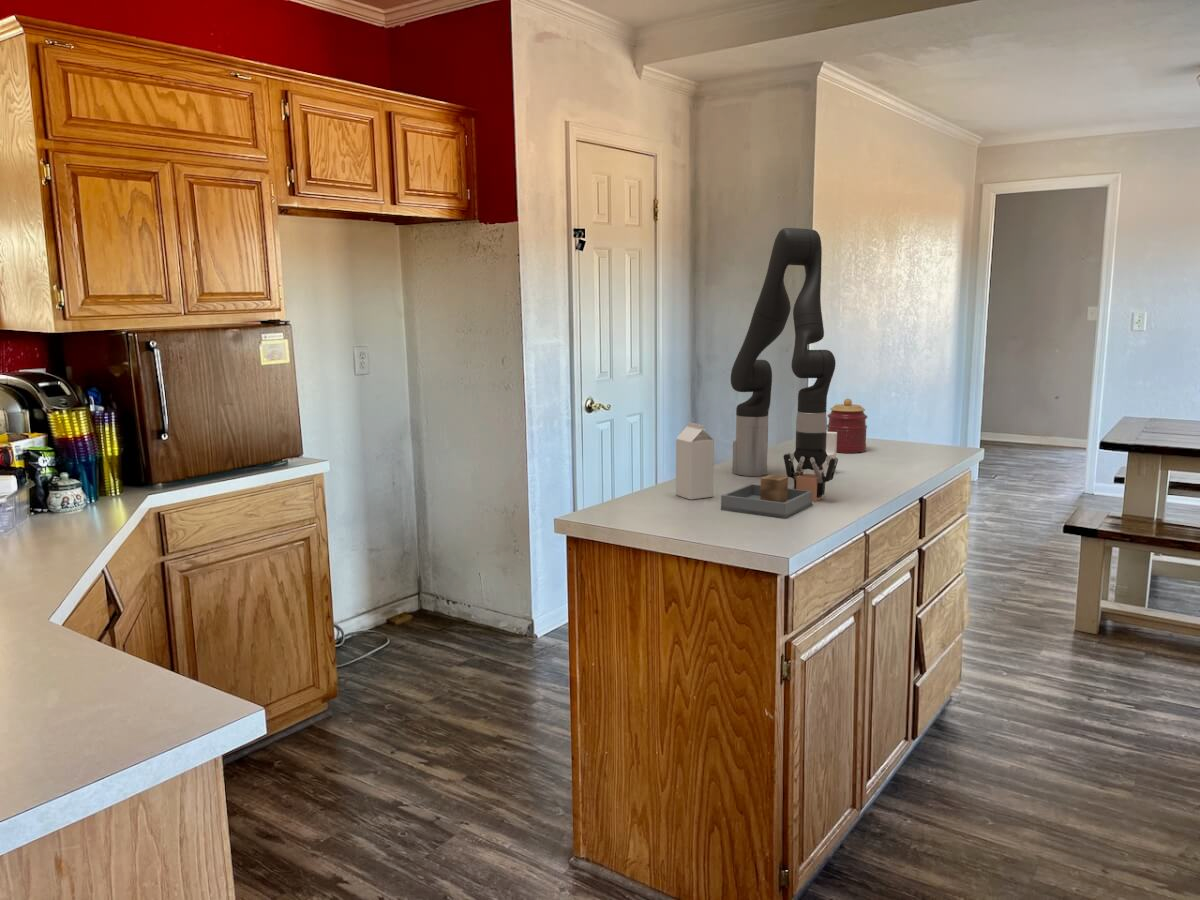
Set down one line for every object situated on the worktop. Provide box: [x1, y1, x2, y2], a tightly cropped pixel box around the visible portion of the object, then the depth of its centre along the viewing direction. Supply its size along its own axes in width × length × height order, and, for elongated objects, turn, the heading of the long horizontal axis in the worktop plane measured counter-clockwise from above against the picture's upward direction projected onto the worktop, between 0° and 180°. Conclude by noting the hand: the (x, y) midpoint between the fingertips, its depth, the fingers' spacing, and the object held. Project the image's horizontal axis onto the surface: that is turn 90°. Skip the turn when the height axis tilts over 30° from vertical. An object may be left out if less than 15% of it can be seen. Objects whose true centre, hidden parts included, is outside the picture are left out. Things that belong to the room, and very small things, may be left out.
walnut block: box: [760, 474, 789, 503], centre depth 218 cm, size 5×5×6 cm
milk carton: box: [675, 421, 715, 500], centre depth 227 cm, size 7×7×19 cm
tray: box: [720, 483, 813, 519], centre depth 215 cm, size 17×17×4 cm
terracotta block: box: [796, 473, 823, 503], centre depth 224 cm, size 5×5×6 cm
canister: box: [826, 398, 868, 454], centre depth 296 cm, size 13×13×18 cm
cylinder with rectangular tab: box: [804, 432, 837, 476], centre depth 259 cm, size 9×9×12 cm
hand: (809, 495), depth 224 cm, fingers closed on terracotta block, 5 cm apart
